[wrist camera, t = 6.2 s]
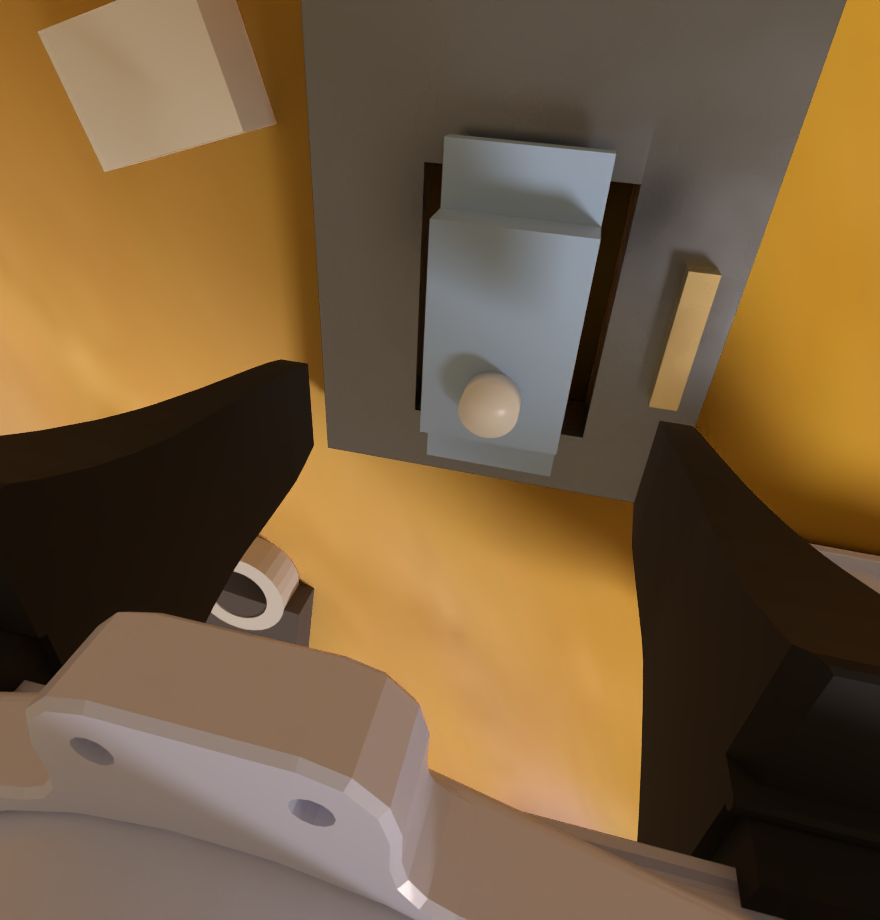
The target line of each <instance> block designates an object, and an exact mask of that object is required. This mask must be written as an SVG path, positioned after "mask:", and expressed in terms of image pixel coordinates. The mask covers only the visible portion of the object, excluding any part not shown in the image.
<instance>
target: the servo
mask: <svg viewBox="0 0 880 920" xmlns="http://www.w3.org/2000/svg"><path fill="white" fill-rule="evenodd" d="M615 157H616V150H606V149H596V148H585V147H575V146H565V145H555V144H545V143H535V142H525V141H514V140H504V139H494V138H484V137H474V136H464V135H454V134H448V135H446V136H445V137H444V154H443V172H442V190H441V207H440V209H439V210H438V211H437V212H436V213H435V214H434V215H433V216H432V217H431V218H430V224H429V245H428V267H427V288H426V310H425V331H424V353H423V374H422V396H421V417H420V432H425V433H428V441H427V455H432V456H438V457H443V458H449V459H454V460H460V461H466V462H471V463H477V464H482V465H488V466H493V467H499V468H505V469H510V470H516V471H521V472H527V473H532V474H538V475H544V476H549V477H550V474H551V469H552V465H553V460H554V455H556V453H557V448H558V444H559V439H560V434H561V429H562V424H563V420H564V415H565V410H566V405H567V400H568V395H569V391H570V386H571V381H572V376H573V371H574V366H575V362H576V357H577V352H578V347H579V342H580V337H581V333H582V328H583V323H584V318H585V313H586V308H587V304H588V299H589V294H590V289H591V284H592V279H593V275H594V270H595V265H596V260H597V255H598V250H599V246H600V241H601V226H602V221H603V216H604V211H605V206H606V201H607V196H608V192H609V187H610V182H611V177H612V172H613V167H614V162H615Z"/></svg>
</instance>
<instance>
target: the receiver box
mask: <svg viewBox="0 0 880 920" xmlns="http://www.w3.org/2000/svg"><path fill="white" fill-rule="evenodd" d="M38 34H39V36H40V38H41V41H42V43H43V45H44V47H45V49H46V51H47V53H48V55H49V57H50V59H51V61H52V64H53V66H54V68H55V70H56V72H57V74H58V76H59V78H60V80H61V82H62V84H63V87H64V89H65V91H66V93H67V95H68V97H69V99H70V101H71V103H72V105H73V107H74V110H75V112H76V114H77V116H78V118H79V120H80V122H81V124H82V126H83V128H84V130H85V133H86V135H87V137H88V139H89V141H90V143H91V145H92V147H93V149H94V151H95V153H96V156H97V158H98V160H99V162H100V164H101V166H102V168H103V170H104V172H107V171H111V170H115V169H118V168H122V167H126V166H130V165H134V164H137V163H141V162H145V161H149V160H152V159H156V158H159V157H163V156H166V155H170V154H173V153H177V152H180V151H184V150H188V149H191V148H195V147H198V146H202V145H205V144H209V143H212V142H216V141H219V140H223V139H226V138H230V137H233V136H237V135H240V134H244V133H247V132H251V131H254V130H258V129H262V128H265V127H269V126H272V125H276V124H277V122H276V119H275V116H274V113H273V110H272V107H271V104H270V101H269V98H268V95H267V92H266V89H265V86H264V83H263V80H262V77H261V74H260V71H259V68H258V65H257V62H256V59H255V56H254V53H253V50H252V47H251V44H250V41H249V38H248V35H247V32H246V29H245V26H244V23H243V20H242V17H241V14H240V11H239V8H238V5H237V1H236V0H116V1H114V2H111V3H109V4H106V5H104V6H101V7H98V8H96V9H93V10H91V11H88V12H86V13H83V14H81V15H78V16H76V17H73V18H71V19H68V20H65V21H63V22H60V23H58V24H55V25H53V26H50V27H48V28H45V29H43V30H40V31H38Z"/></svg>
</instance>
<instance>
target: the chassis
mask: <svg viewBox="0 0 880 920" xmlns="http://www.w3.org/2000/svg"><path fill="white" fill-rule="evenodd" d="M846 1H847V0H301V9H302V25H303V42H304V58H305V75H306V91H307V108H308V124H309V141H310V158H311V174H312V191H313V207H314V224H315V240H316V257H317V273H318V290H319V307H320V323H321V340H322V356H323V373H324V389H325V406H326V422H327V439H328V448H333V449H339V450H344V451H350V452H355V453H361V454H366V455H372V456H377V457H383V458H389V459H394V460H400V461H405V462H411V463H416V464H422V465H427V466H433V467H438V468H444V469H449V470H455V471H461V472H466V473H472V474H477V475H483V476H488V477H494V478H499V479H505V480H510V481H516V482H521V483H527V484H533V485H538V486H544V487H549V488H555V489H560V490H566V491H571V492H577V493H582V494H588V495H594V496H599V497H605V498H610V499H616V500H621V501H627V502H632V503H634V501H635V498H636V495H637V492H638V488H639V485H640V482H641V479H642V475H643V472H644V469H645V466H646V463H647V459H648V456H649V453H650V450H651V447H652V443H653V440H654V437H655V434H656V431H657V427H658V424H659V421H665V422H671V423H678V424H684V425H690V426H693V427H694V428H695V426H696V423H697V421H698V418H699V415H700V412H701V409H702V407H703V404H704V401H705V398H706V395H707V392H708V390H709V387H710V384H711V381H712V378H713V376H714V373H715V370H716V367H717V364H718V361H719V359H720V356H721V353H722V350H723V347H724V345H725V342H726V339H727V336H728V333H729V330H730V328H731V325H732V322H733V319H734V316H735V314H736V311H737V308H738V305H739V302H740V299H741V297H742V294H743V291H744V288H745V285H746V283H747V280H748V277H749V274H750V271H751V268H752V266H753V263H754V260H755V257H756V254H757V252H758V249H759V246H760V243H761V240H762V238H763V235H764V232H765V229H766V226H767V223H768V221H769V218H770V215H771V212H772V209H773V207H774V204H775V201H776V198H777V195H778V192H779V190H780V187H781V184H782V181H783V178H784V176H785V173H786V170H787V167H788V164H789V161H790V159H791V156H792V153H793V150H794V147H795V145H796V142H797V139H798V136H799V133H800V130H801V128H802V125H803V122H804V119H805V116H806V114H807V111H808V108H809V105H810V102H811V99H812V97H813V94H814V91H815V88H816V85H817V83H818V80H819V77H820V74H821V71H822V68H823V66H824V63H825V60H826V57H827V54H828V52H829V49H830V46H831V43H832V40H833V38H834V35H835V32H836V29H837V26H838V23H839V21H840V18H841V15H842V12H843V9H844V7H845V4H846ZM448 134H454V135H464V136H474V137H484V138H494V139H504V140H514V141H525V142H535V143H545V144H555V145H565V146H575V147H585V148H596V149H606V150H616V157H615V162H614V167H613V172H612V177H611V181H613V182H622V183H632V184H634V186H633V191H632V195H631V200H630V204H629V209H628V213H627V217H626V222H625V226H624V231H623V235H622V240H621V244H620V249H619V253H618V258H617V262H616V266H615V271H614V275H613V280H612V284H611V289H610V293H609V298H608V302H607V307H606V311H605V315H604V320H603V324H602V329H601V333H600V338H599V342H598V347H597V351H596V356H595V360H594V364H593V369H592V373H591V378H590V382H589V387H588V391H587V396H586V400H585V402H580V401H574V400H567V405H566V410H565V415H564V420H563V424H562V429H561V434H560V439H559V444H558V448H557V453H556V455H554V460H553V465H552V469H551V474H550V477H549V476H544V475H538V474H532V473H527V472H521V471H516V470H510V469H505V468H499V467H493V466H488V465H482V464H477V463H471V462H466V461H460V460H454V459H449V458H443V457H438V456H432V455H427V441H428V433H425V432H420V417H421V396H422V374H423V353H424V331H425V310H426V288H427V267H428V245H429V224H430V218H431V217H432V216H433V215H434V214H435V213H436V212H437V211H438V210H439V209H440V207H441V190H442V172H443V154H444V137H445V136H446V135H448Z"/></svg>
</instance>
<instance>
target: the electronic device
mask: <svg viewBox="0 0 880 920" xmlns="http://www.w3.org/2000/svg"><path fill="white" fill-rule="evenodd" d="M313 594H314V588H312V587H309V586H306V585H303V584H299V577H298V573H297V570H296V568H295V566H294V564H293V562H292V561H291V560H290V558H289V557H288V556H287V555H286V554H285V553H284V552H283V551H282V550H281V549H280V548H278V547H277V546H276V545H274V544H272V543H271V542H269V541H267V540H265V539H262V538H260V537H256V539H255V540H254V541H253V543H252V544H251V546H250V547H249V548H248V550H247V551H246V553H245V554H244V555H243V557H242V559H241V560H240V562H239V563H238V565H237V566H236V568H235V569H234V571H233V573H232V575H231V576H230V578H229V580H228V582H227V584H226V585H225V587H224V589H223V591H222V593H221V594H220V596H219V598H218V600H217V602H216V604H215V605H214V607H213V609H212V611H211V613H210V615H209V617H208V619H207V621H206V624H211V625H215V626H219V627H223V628H228V629H232V630H236V631H240V632H245V633H249V634H253V635H257V636H262V637H266V638H270V639H274V640H278V641H283V642H287V643H291V644H295V645H300V646H304V647H308V646H309V636H310V626H311V615H312V605H313ZM285 610H286V611H285Z"/></svg>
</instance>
